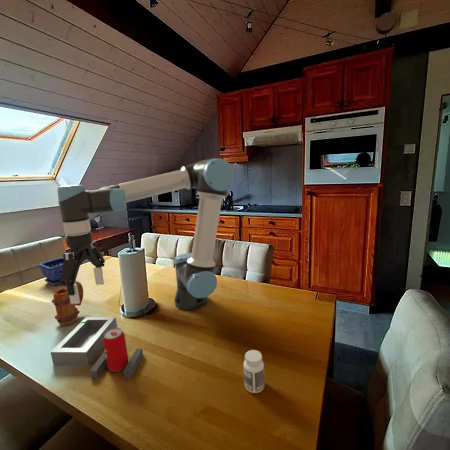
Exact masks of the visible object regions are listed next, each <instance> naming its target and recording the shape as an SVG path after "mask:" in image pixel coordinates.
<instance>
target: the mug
mask: <svg viewBox="0 0 450 450" xmlns="http://www.w3.org/2000/svg"><path fill="white" fill-rule="evenodd" d="M75 284H77V287H78V293H79V298H80V303H79V304H71V302H70V297H69V295H68V291H67V287H65V288H64V287H63V288H60V289H59V290H55V291H54V293H52V294H53V299H52V300H50V301H51V303H52V304H53V305H54V306H55V311H56V315H54V319H56V321H57V323H58V324H59V325H60V326H68V325H71V324H73V323H74V322H76V321H77V320H78V317H79V316H78V315H79V314H80V311H79V309H78V308H77V306H78V307H79V306H81V305H82V302H83V299H84V287H83V285H82V283H80V282H79V281H75Z"/></svg>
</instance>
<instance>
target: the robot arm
mask: <svg viewBox="0 0 450 450" xmlns="http://www.w3.org/2000/svg"><path fill="white" fill-rule="evenodd" d="M234 181H235V172H234V168H233V167H232V165H231V164H230V162H228V161H227V160H224V159H223V158H215V157H214V158H213V157H212V158H210V159H203V160H199V161H196V162H195V163H191V164H188V165H186V166H184V165H183V166H182V167H181V168H180V169H179V170H178V169H177V170H173V171H170V172H165V173H162V174H157V175H153V176H149V177H144V178H139V179H135V180H130V181H127V182H121V183H118V184H114V185H109V186H107V185H106V186H101V187H100V188H99V189H94V190H93V189H92V190H89V189H88V190H86V189H85V187H84V185H83V184H69V185H60V186H58V187H57V189H56V191H57V197H58V202H57V203H58V205H59V210H60V214H61V216H60V217H61V220H62V224H63V230H64V231H63V232H64V234H65V242H66V246H67V247H68V248H69V249H70V252H66V253H65V252H64V253H63V254H62V257H63V260H64V262H63V269H62V275H61V282H60V284H59V285H60V287H65V288H67V291H68V295H69V297H70V302H71V304H79V303H80V298H79V293H78V287H77V284H75V282H77V277H78V273H79V270H80V267H81V265H83V263H84V261H86V260H88V261H89V262H90V263H91V265H93V266H94V267H93V274H94V280H95V285H96V286H97V285H98V286H99V285H100V286H103V285H104V284H105V282H104V276H103V267H105V263H106V260H105V258H104V256H103V255H102V253H101V251H100V249H99V247H98V245H97V241H94V240H93V235H92V232H91V230H92V227H91V222H90V217H89V214H91V215H92V214H98V213H110V212H121V211H124V210H126V209H127V203H129V202H135V201H138V200H143V199H147V198H151V197H154V196H159V195H162V194H166V193H169V192H170V193H171V192H173V191H178V190H183V189H186V190H192V189H196V193H197V194H198V196H199V202H198V210H197V213H196V214H197V216H196V222H195V227H194V235H193V243H192V248H191V252H186V253H181V254H179V255H176V256H175V258H174V267H175V268H174V269H175V275H176V276H175V277H176V287H177V288H176V293H175V296H174V305H175V308H177V309H179V310H182V311H194V310H199V309H200V308H203V307H204V306H206V305H207V303H208V298H209V296H210V295H211V294H213V293H214V291H216V288H217V285H218V279H217V277H216V275H215V270H216V262H215V261H214V259H213V257H214V251H215V246H216V239H217V234H218V227H219V219H220V214H221V206H222V203H223V201H224V199H225V198H227V196H228V189H230V188H231V187H232V185H233V183H234Z"/></svg>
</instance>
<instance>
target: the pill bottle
mask: <svg viewBox="0 0 450 450" xmlns="http://www.w3.org/2000/svg"><path fill="white" fill-rule="evenodd" d="M242 365H243V378H244V379H243V384H244V387H245V389H246V391H248V392H249V393H252V394H258V393H261V392H262V391H263V390H264V389H265V363H264V361H263V355H262V353H261V351H258V350H256V349H251V350H248V351H247V352H245V354H244V361H243V364H242Z"/></svg>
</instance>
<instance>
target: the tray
mask: <svg viewBox="0 0 450 450" xmlns="http://www.w3.org/2000/svg"><path fill="white" fill-rule="evenodd" d="M113 328H118V323H117V317H116V316H85V318H84V319H82V321H80V323H78V324H77V325H76V326H75V328H74V329H72V331H70V332H69V334H67V335H66V336H65V337H64V338H63V339H62V340H60V342H59V343H58V344H57V345H56V346H55V347H54V348H53V349H51V351H50V355H51V361H52V364H53V366H77V367H78V366H81V367H82V366H85V367H86V366H90V365H91V363H92V362H93V361H94V359H95V358H96V357H97V355H98V354H99V353H100V351H101V350H102V349H103V348H104V343H103V338H104V334H105V333H106V332H107V331H108V330H110V329H113Z"/></svg>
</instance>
